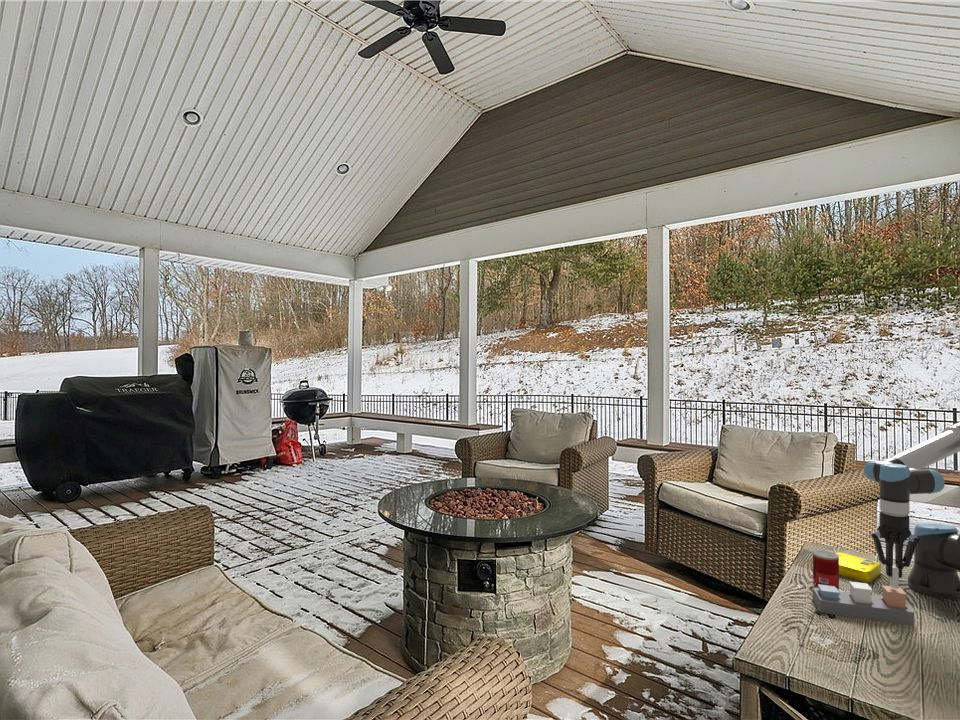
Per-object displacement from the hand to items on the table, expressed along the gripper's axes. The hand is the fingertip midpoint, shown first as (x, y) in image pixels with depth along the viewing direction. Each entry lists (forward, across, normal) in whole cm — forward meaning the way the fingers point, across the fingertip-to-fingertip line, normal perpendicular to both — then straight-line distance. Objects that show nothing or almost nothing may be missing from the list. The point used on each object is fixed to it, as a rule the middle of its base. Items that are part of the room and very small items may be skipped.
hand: (893, 586), depth 169 cm
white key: (+6, +9, 0) cm, 11 cm away
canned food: (+10, +14, -20) cm, 26 cm away
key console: (+10, +9, 0) cm, 13 cm away
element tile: (+10, +1, -36) cm, 38 cm away
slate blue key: (+8, +18, 0) cm, 20 cm away
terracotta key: (+6, 0, 0) cm, 6 cm away
